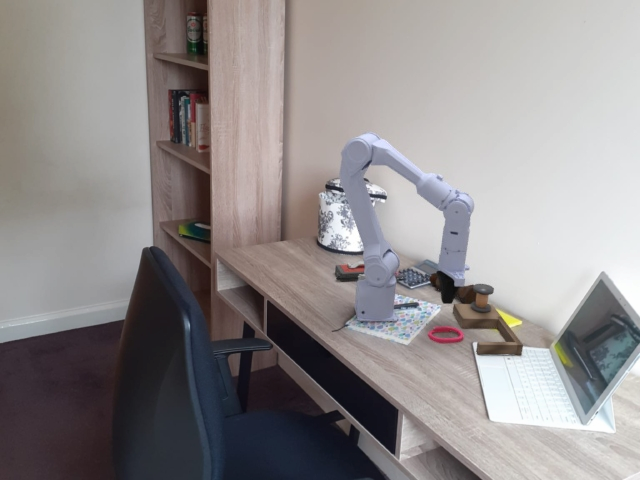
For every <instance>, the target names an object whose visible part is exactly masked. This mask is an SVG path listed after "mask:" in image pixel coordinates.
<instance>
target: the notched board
mask: <svg viewBox="0 0 640 480" xmlns="http://www.w3.org/2000/svg"><path fill="white" fill-rule="evenodd" d="M488 304H489V305H490V306H491V311H490V312H488V313H479V312H476V311H473V310H472V309H471V304H462V303H453V307H452V314H453V316H454V318H455V319H456V321H457V323H458V324H459V326H460V328H461V329H496V330H497V331H498V332H499V334H500V335H501V336H502V338H503V339H504V341H477V342H476V343H477V344H476V349H475V352H477V353H476V354H477V356H479V355H480V354H516V355H515V356H522V355H523V354H522V353H523V348H524V344H523V343H522V342H521V340H520V339H519V338H518V336H517V335H516V333H514V331H513V329H512V328H511V327H510V326H509V323H507V322H506V321H505V319H504V318H503V316H501V314H500V313H499V310H497V309H496V307H495V306H494V305H493V304H492V303H491V304H490V303H488ZM480 356H481V355H480Z"/></svg>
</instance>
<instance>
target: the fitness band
mask: <svg viewBox="0 0 640 480" xmlns="http://www.w3.org/2000/svg"><path fill="white" fill-rule="evenodd" d="M451 332H454V333H455V334H457V335H458V336H457V337H446V338H445V337H443V338H441V337H439V336H434V334H436V333H451ZM427 333H428V334H427V337H428V338H429V339H430V340H431V341H432V342H434V343H435V342H436V343H439V344H454V343H460V342H463V340H464V337H465V335H464V332H463V331H462V330H460V329H458V328H457V327H452V326H433V327H432V330H430V331H428V332H427Z"/></svg>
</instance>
